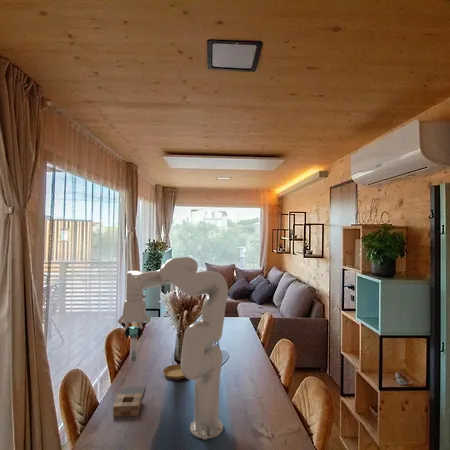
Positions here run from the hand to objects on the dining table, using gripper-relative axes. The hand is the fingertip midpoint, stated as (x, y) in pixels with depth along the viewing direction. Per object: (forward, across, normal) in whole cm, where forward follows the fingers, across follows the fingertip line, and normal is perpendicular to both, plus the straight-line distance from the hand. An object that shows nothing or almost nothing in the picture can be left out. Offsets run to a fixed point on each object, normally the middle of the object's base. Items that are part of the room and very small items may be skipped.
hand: (133, 336), depth 149 cm
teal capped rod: (+11, 0, 0) cm, 11 cm away
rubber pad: (+26, 0, 0) cm, 26 cm away
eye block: (+26, 0, +13) cm, 29 cm away
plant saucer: (+27, -20, -18) cm, 38 cm away
